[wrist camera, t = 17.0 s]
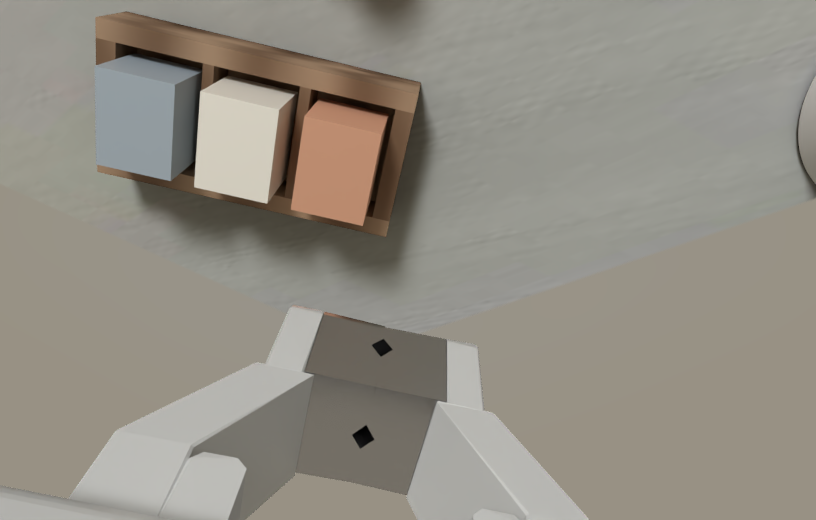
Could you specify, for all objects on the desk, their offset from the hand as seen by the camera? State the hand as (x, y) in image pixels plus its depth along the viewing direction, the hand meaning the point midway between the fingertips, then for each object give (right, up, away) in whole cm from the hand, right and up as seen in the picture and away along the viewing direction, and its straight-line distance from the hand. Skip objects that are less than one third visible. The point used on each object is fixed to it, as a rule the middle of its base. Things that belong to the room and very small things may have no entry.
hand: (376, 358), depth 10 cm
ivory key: (-10, +10, +31) cm, 34 cm away
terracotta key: (-4, +9, +31) cm, 33 cm away
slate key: (-16, +12, +31) cm, 36 cm away
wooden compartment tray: (-9, +11, +33) cm, 36 cm away
